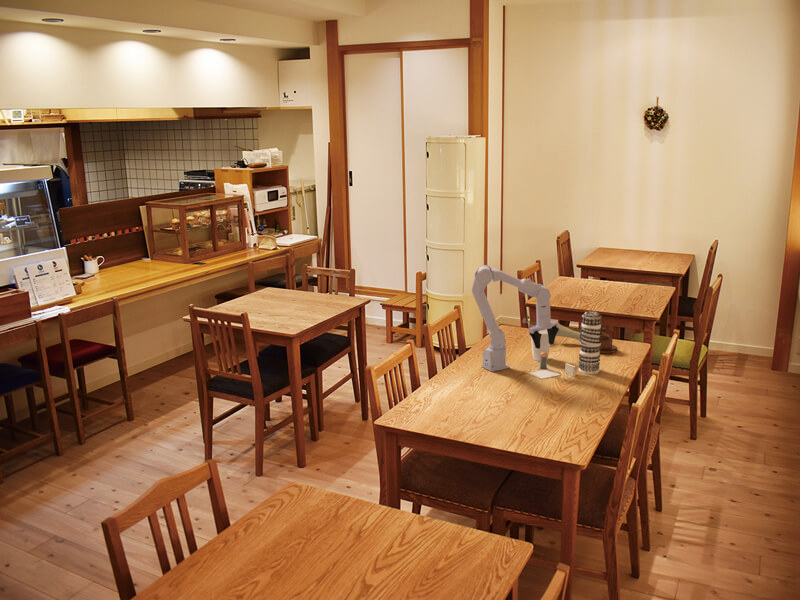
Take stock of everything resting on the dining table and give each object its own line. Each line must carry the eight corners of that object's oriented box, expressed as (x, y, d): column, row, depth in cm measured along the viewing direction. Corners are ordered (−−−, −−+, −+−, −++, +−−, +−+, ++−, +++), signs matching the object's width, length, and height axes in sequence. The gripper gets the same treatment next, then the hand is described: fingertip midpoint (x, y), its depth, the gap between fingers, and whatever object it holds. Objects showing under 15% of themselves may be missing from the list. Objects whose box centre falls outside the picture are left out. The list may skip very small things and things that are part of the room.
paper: (541, 379, 288) (541, 378, 288) (529, 373, 295) (529, 372, 295) (560, 375, 292) (560, 374, 292) (548, 369, 299) (548, 368, 299)
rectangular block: (574, 376, 291) (575, 366, 290) (573, 376, 291) (573, 367, 290) (566, 372, 296) (567, 363, 295) (565, 372, 295) (565, 363, 294)
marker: (542, 370, 299) (543, 354, 297) (538, 368, 301) (539, 352, 299) (547, 369, 300) (548, 353, 298) (543, 367, 302) (544, 351, 301)
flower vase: (589, 362, 330) (515, 340, 339) (592, 348, 340) (521, 327, 348) (595, 342, 323) (520, 320, 332) (599, 328, 333) (526, 307, 342)
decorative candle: (574, 372, 296) (577, 314, 290) (580, 365, 304) (583, 309, 298) (597, 375, 292) (600, 316, 286) (602, 368, 300) (605, 311, 294)
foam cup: (552, 362, 308) (554, 333, 305) (531, 362, 309) (532, 333, 306) (548, 355, 318) (550, 327, 315) (528, 355, 318) (528, 327, 315)
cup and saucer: (618, 356, 316) (619, 342, 315) (590, 354, 319) (591, 341, 317) (615, 348, 328) (616, 335, 326) (589, 346, 330) (589, 333, 329)
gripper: (536, 320, 289) (537, 352, 292) (563, 313, 296) (564, 344, 299) (525, 317, 295) (526, 348, 298) (551, 310, 302) (552, 340, 305)
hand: (544, 346), depth 299 cm, fingers open, 7 cm apart
